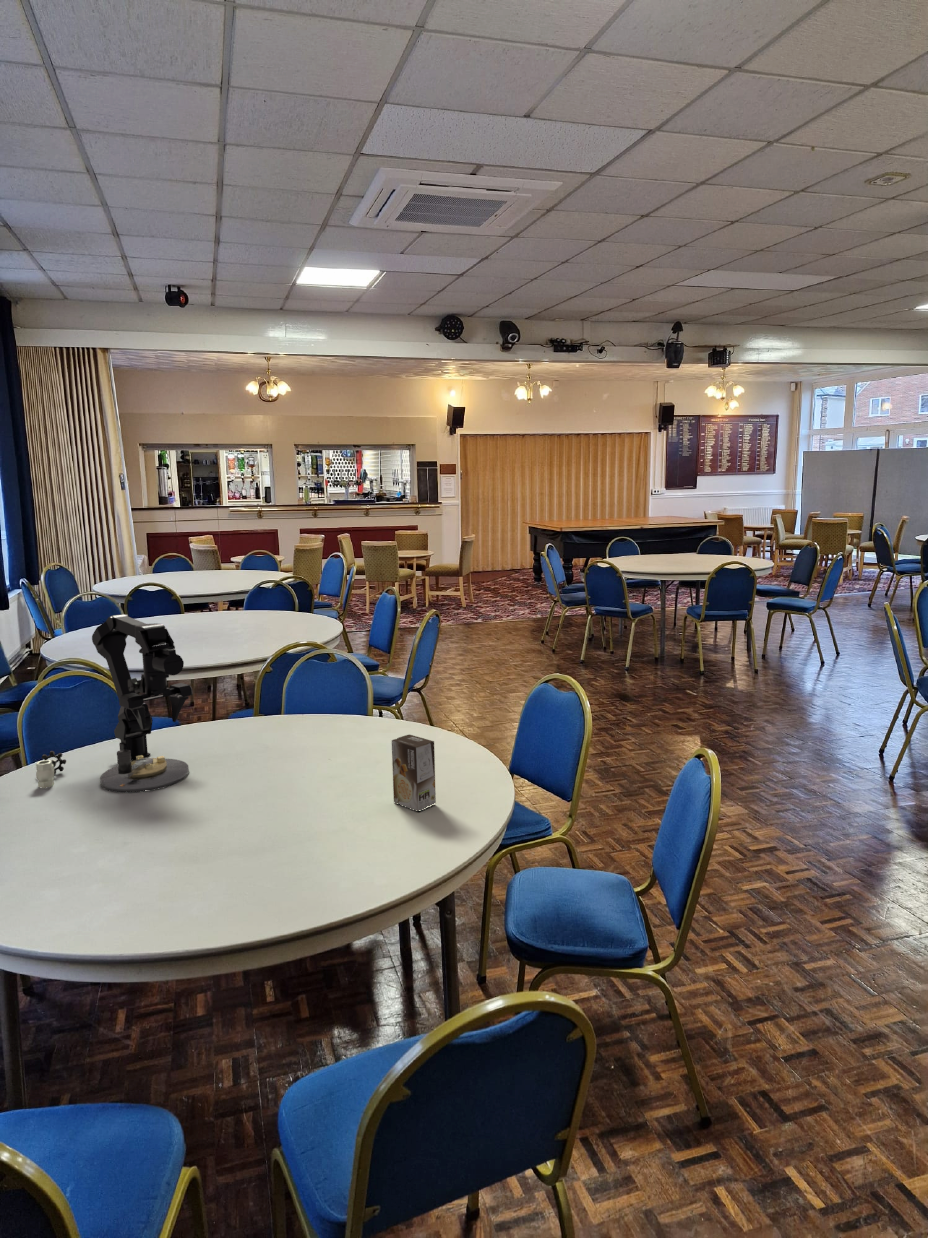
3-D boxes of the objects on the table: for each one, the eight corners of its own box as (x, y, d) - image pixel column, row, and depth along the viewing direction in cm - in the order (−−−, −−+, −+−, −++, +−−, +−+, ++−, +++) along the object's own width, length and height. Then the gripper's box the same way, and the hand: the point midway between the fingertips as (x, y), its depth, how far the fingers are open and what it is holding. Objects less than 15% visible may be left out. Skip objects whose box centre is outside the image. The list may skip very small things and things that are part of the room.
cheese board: (174, 764, 215) (172, 735, 213) (142, 785, 199) (140, 754, 198) (137, 763, 216) (134, 734, 215) (102, 784, 200) (99, 752, 199)
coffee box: (437, 805, 189) (436, 741, 186) (418, 813, 184) (416, 747, 182) (411, 795, 195) (409, 733, 192) (392, 803, 190) (390, 739, 188)
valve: (58, 787, 204) (67, 772, 215) (56, 763, 203) (65, 749, 214) (30, 790, 202) (40, 775, 213) (27, 766, 201) (38, 752, 212)
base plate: (162, 758, 226) (161, 752, 225) (204, 774, 212) (204, 768, 211) (85, 779, 209) (84, 773, 209) (126, 799, 195) (125, 792, 195)
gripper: (170, 661, 226) (174, 713, 228) (107, 672, 212) (111, 728, 214) (191, 665, 219) (195, 720, 221) (127, 678, 205) (132, 735, 207)
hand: (158, 725), depth 216 cm, fingers open, 9 cm apart
